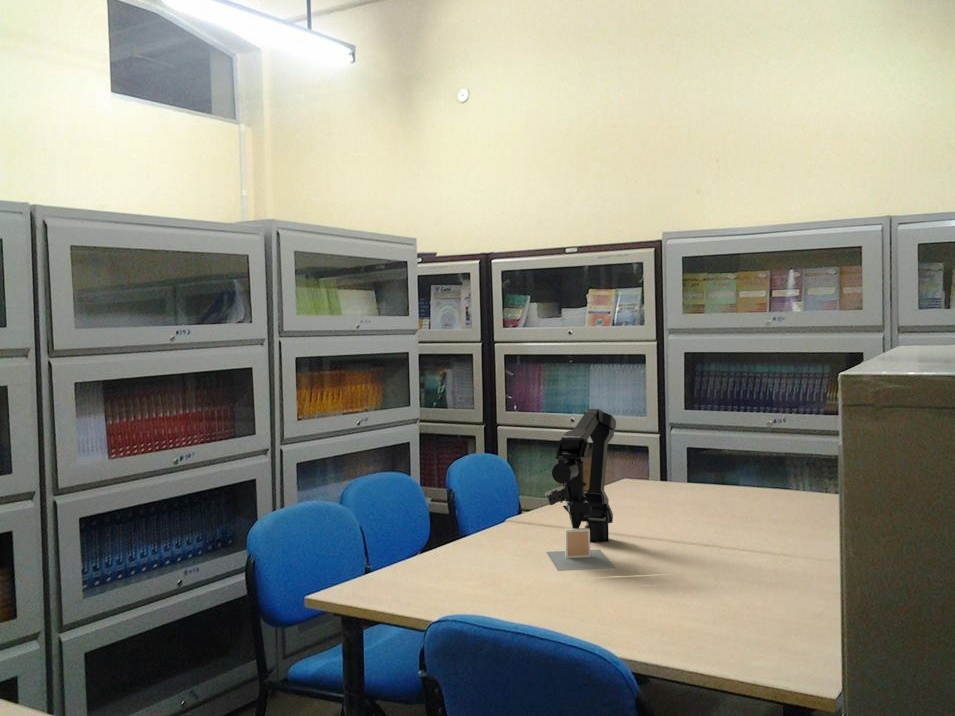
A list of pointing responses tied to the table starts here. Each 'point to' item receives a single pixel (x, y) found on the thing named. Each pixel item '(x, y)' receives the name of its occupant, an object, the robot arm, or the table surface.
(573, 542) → the tile
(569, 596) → the table surface
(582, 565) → the mat
